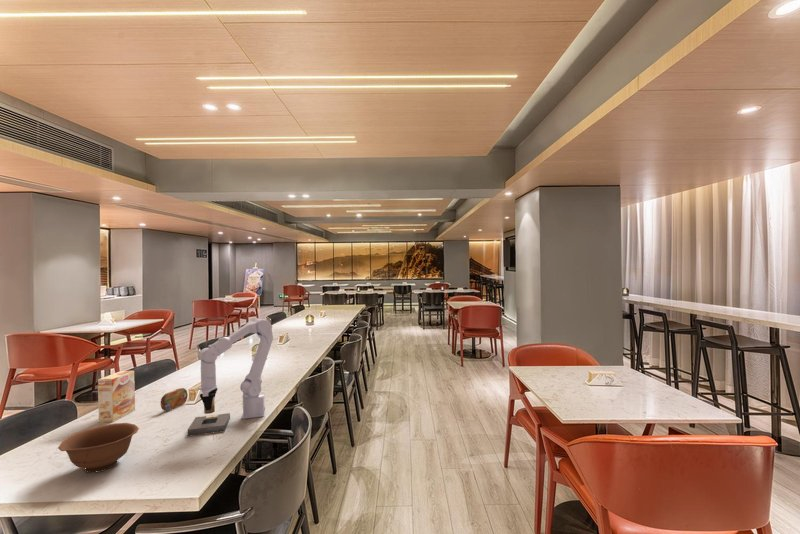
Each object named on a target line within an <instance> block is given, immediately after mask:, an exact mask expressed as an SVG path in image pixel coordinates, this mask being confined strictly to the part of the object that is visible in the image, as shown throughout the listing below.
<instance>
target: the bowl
mask: <svg viewBox="0 0 800 534" xmlns="http://www.w3.org/2000/svg"><path fill="white" fill-rule="evenodd" d="M139 430H140V428H139V427H138V426H137V425H136V424H135V423H129V422H119V423H118V422H117V423H110V424H104V425H99V426H95V427H91V428H88V429H87V428H86V429H84V430H81V431H79V432H76V433H74V434H71V435H70V436H68V437H66V438H65V439H63V440H62V441H61V443H60V445H59V446H58V447H57V449H59V451H60V452H66V454H67V457H68V458H69V461H70V462H71V463H72V464H73V465H74V466H75V467H77V468H82V469H84V471H85V470H86V471H88V472H87V473H89V472H94V473H97V472H96V471H100V472H102V470H103V471H106V470H109V469H111V468H112V467H113V468H114V466H116V464H118V461H119V460H120V459H121V458H123V456H125V455H126V454H127V452H128V451H129V447H130V446H131V441H132V438H133V436H134V435H136V434H137V433H138V431H139ZM85 468H86V469H85ZM86 471H85V472H86Z"/></svg>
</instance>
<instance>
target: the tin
mask: <svg viewBox="0 0 800 534" xmlns="http://www.w3.org/2000/svg"><path fill="white" fill-rule="evenodd" d="M188 395H189V394H188V390H187V389H186V388H184V387H183V388H176V389H174V390H171V391H169V392H167V393H165V394H163V395H162V397H161V399H160V408H161V410H162V411H165V412H166V411H169V412H171V411H173V410H175V409H177V408H179V407H182V406H184V404H186V402H187V400H188V397H189V396H188ZM172 409H173V410H172ZM170 410H171V411H170Z"/></svg>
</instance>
